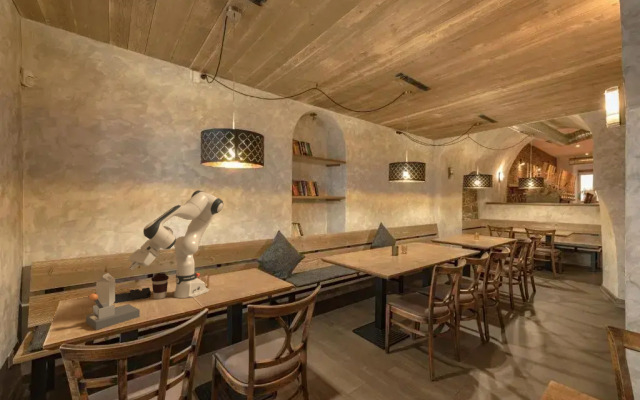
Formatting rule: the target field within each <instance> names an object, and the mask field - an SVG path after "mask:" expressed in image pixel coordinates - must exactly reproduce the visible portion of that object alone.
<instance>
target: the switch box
mask: <svg viewBox="0 0 640 400" xmlns="http://www.w3.org/2000/svg"><path fill="white" fill-rule="evenodd" d="M101 305H102V306H103V307H104V308H100V309H99V308H98V306H97V305H96V304H95V305H92V313H89V314H86V315H85V319H86V320H85V322H86V324H87V325H89V326H90V327H91V328H92V329H94V330H96V331H98V330H102V329H105V328H109V327H111V326H114V325H118V324H120V323H124V322H128V321H131V320H134V319H137V318H141V315H140V314H141V313H140V309H139V308H137V307H135V306H133V305H131V304H129V303H127V304H124V305H120V306H115V304H112V305H111V306H109V302H107V303H103V304H101Z"/></svg>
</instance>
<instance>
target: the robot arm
mask: <svg viewBox="0 0 640 400" xmlns="http://www.w3.org/2000/svg"><path fill="white" fill-rule="evenodd" d="M223 207H224V201H223V200H222V199H220V198H219V197H217V196H215V195H213V194H211V193H208V192H206V191H205V192H204V191H203V190H195V191H194V192H193V193H192V194H191V197H190V198H189V199H188V200H187V201H186V202H185V203H184V204H181V205H179V204H178V205H174V206H173V207H171V208H170V209H168V210H167V211H166V212H164V213H163V214H161V215H160V216H158V217H157V218H156V219H154V220H152V221H151V222H149V223H148V224H146V225H145V227H143V236H144V237H145V238H147V240H146V241H145V242H144V243H143V244H142V245H141V247H140V248H138V249H135V251H133V252H132V253H131V254H130V255H129V256H128V260H129V261H130V262H131V264H130V266H129V267H128V269H129V270H131V271H134V270H136V268H138V267H139V266H144V267H145V268H146V267H148V266H150V265H151V264H152V263H153V262H154V261H155V260H156V258H158V257H159V256H160V252H159V251H160V249H162V250H170V249H171V248H173V247H174V252H175V261H176V274H175V288H174V289H175V290H174V293H173V297H174V298H177V299H184V298H196V297H198V296H200V295H203V294H205V293H208V292H210V289H209V288H208V287H206V283H205V282H204V281H203V280H202V279H200V278H198V277H200V275H201V273H198V272H195V266H196V265H195V259H194V254H196V253H197V252H198V250H199V245H200V242H201V240H202V237H203V235H204V233H205V231H206V230H207V228H208V227H209V225H210V223H211V222H212V219H213V217H214V215H216V214H219V213H220V212H221V211H222V210H223ZM173 217H178V218H181V219H183V220H185V221H186V220H187V221H190V223H189V224H188V226H187V230H186V233H185V235H183V236H179V237H177V238H176V236H175V235H174V230H173V229H172V228H170V227H169V226H166V225H163V224H165V223H166V222H167V221H168V220H171V218H173Z"/></svg>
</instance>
